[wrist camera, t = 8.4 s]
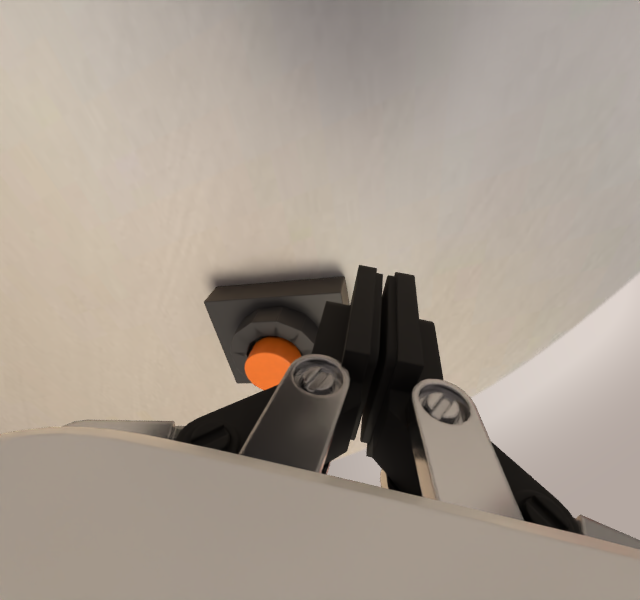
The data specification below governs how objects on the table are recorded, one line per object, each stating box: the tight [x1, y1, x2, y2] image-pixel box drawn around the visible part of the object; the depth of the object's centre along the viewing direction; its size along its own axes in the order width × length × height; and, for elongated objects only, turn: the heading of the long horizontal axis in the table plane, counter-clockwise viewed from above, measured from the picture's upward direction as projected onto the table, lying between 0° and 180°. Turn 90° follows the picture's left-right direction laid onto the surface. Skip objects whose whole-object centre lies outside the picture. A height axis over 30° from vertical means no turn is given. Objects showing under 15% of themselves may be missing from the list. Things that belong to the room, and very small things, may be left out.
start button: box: [245, 336, 301, 390], centre depth 25 cm, size 4×4×2 cm
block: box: [204, 277, 349, 383], centre depth 27 cm, size 10×8×4 cm
